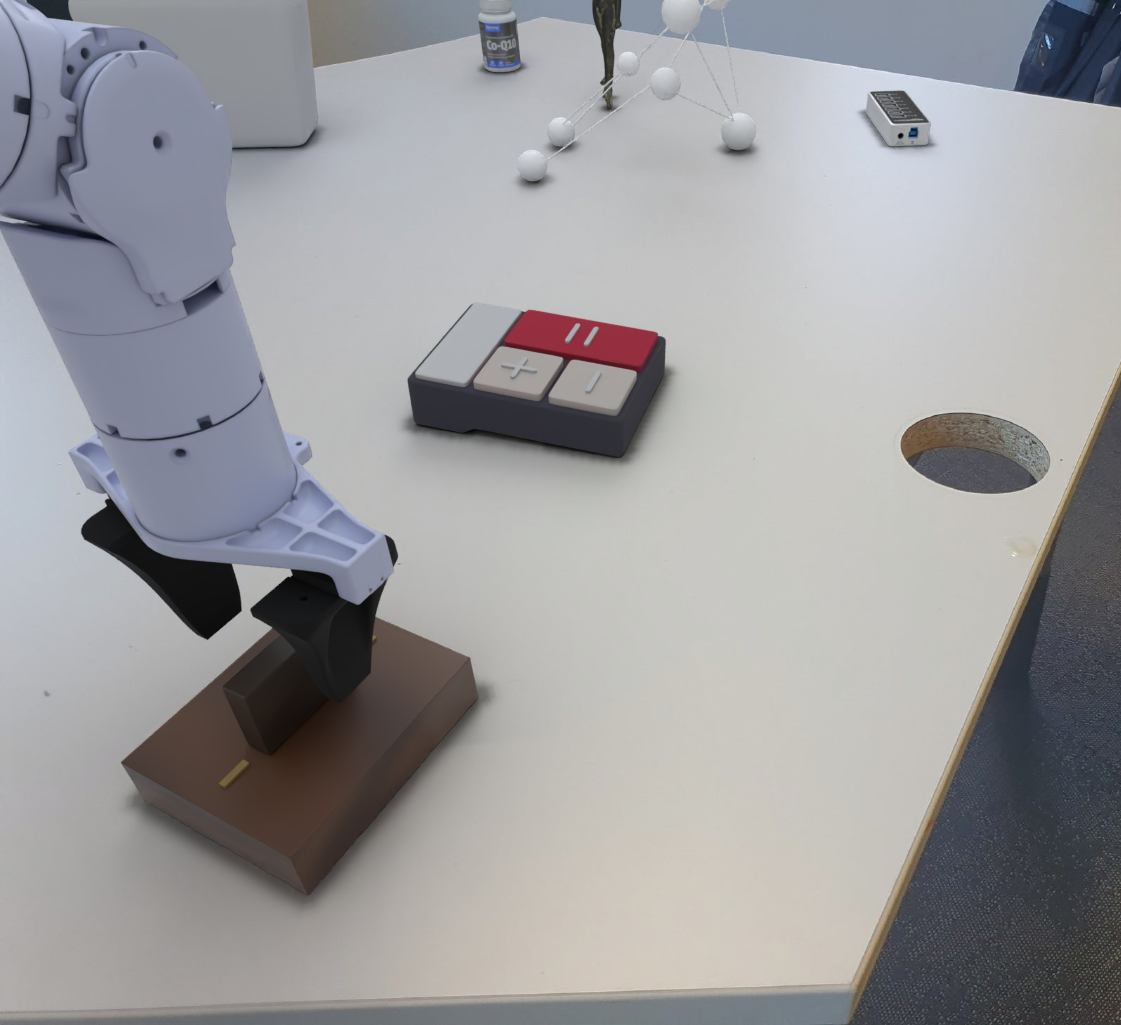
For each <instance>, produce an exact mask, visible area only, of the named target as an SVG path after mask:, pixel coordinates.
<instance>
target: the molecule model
mask: <svg viewBox="0 0 1121 1025" xmlns="http://www.w3.org/2000/svg"><path fill="white" fill-rule="evenodd" d="M702 2H703V4H702V5H701V3H700V1H699V0H663V1H662V5H661V10H660V11H661V13H660V14H661V19H662V22H663V24H664V25H665V27H666V28H664V30H662V32H660V34H659V35H658V36H657V37H656V38H655V39H653V41H651V43H649V44H648V45H647V46H646V47H644V49H643V50H641V51H640V52H639V53H638V54H637V55H636V54H635V53H634V52H631V51H624V52H622V53H620V55H619V56H618V57H617V60H616V68H617V70H618V72H617V73H616V74H615V75H613V76H614V77H613V78H612V79H611V80H610V81H609V82H608V83H606V84H605V85H602V87H601V88H600V89H599V90H598V91H596V92H595V93H594V94H593V95H592V96H591V97H590V98H588V100H586V101H585V102H584V103H583V104H582V105H581V106H579V108H578V109H577V110H575V111H574V112H573V113H572V114H571V115H570V116H569V117H568V118H566V117H561V116H559V117H555V118H553V119H552V120H551V121H550V122H549V124H548V125H547V128H546V129H547V130H546V135H547V138H548V140H549V141H550V143H551V144H552V145H554V146H556V147H559V148H560V149H559V150H558V151H556V152H555V153H553V154H552V155H551V156H549V157H548V158H547V159H546V157H545V156H544V155H543V153H541V152H540V151H538V150H535V149H528V150H525V151H524V152H522V153H521V154H520V155H519V157H518V159H517V164H516V167H517V171H518V173H519V175H520V176H521V177H522V178H523V179H524V180H526V181H529V182H538V181H540V180H542V179H543V178H544V177H545V175H547V174H546V173H547V171H548V162H549V160H551V159H552V158H553V157H555V156H556V155H557V154H559V153H560V152H562V151H563V150H564V149H566V148H567V147H569V146H570V145H571V144H573V143H574V142H576V141H577V140H579V139H580V138H581V137H583V136H584V135H586V133H588V132H589V131H591V130H592V129H594V128H595V127H596V126H598V125H599V124H600V123H602V122H604V121H605V120H606V119H607V118H609V117H610V116H612V115H613V114H614V113H616V112H617V111H618V110H620V109H621V108H623V107H624V106H625V105H627V104H629V102H631V101H632V100H634V99H635V98H636V97H638V96H639V95H640V94H642V93H643V92H645V91H646V90H648V89H649V88H650V90H651V93H652V94H653V95H654V97H656V99H658V100H661V101H670V100H672V99H674V98H675V97H676V96H679V97H681V98H683V99H686V100H688V101H690V102H691V103H694V104H697V105H699V106H701V107H703V108H705V109H707V110H710V111H712V112H714V113H716V114H718V115H720V116H722V117H723V118H724V117H725V119H724V121H723V122H722V125H721V128H720V135H721V139H722V142H723V143H724V144H725V145H726V147H728V149H730V150H733V151H743V150H745V149H748V148H749V147H750V146H751V145H752V144H753V142H755V139H756V136H757V127H756V124H755V121H754V120H753V118H752V117H751V116H749V114H746V113H743V112H741V108H740V102H739V98H738V97H739V96H738V91H737V85H736V80H735V73H734V67H733V61H732V56H731V51H730V45H729V39H728V34H727V29H726V22H725V18H724V16H725V15H724V12H723V9H725V8H726V7H727V6H728V5H729V4H730V3H731V0H702ZM704 7H707V8H708V9H710V10H712V11H720V13H721V18H722V24H723V31H724V36H725V41H726V47H727V53H728V58H729V59H728V60H729V64H730V70H731V75H732V80H733V86H734V92H735V98H736V103H737V109H738V112H734V113H732V111H731V109H730V107H729V105H728V103H727V101H726V99H725V96H724V94H723V92H722V91H721V89H720V87H719V85H718V83H717V80H716V78H715V77H714V74H713V72H712V70H711V68H710V65H709V64H708V62H707V60H706V58H705V55H704V53H703V52H702V50H701V48H700V45H699V44H698V41H697V39H696V38H695V36H694V33H693V31H694V30H695V29H696V28H697V26H698V25H699V24H700V22H701V21H700V20H701V18H702V12H703V10H704ZM668 31H670V32H671V33H673V34H677V35H685V37H684V39H683V41H682V42H681V44H680V46H679V48H678V50H677V51H676V54H675V55H674V56H673V58H672V61H671V62H670V64H669V66H661V67H659V68H657V69H656V70H654V72H653V73H652V75H651V77H650V81H649V84H648V85H647V86H646V87H645V88H643V89H642V90H640V91H639V92H637V93H636V94H635V95H634V96H632V97H631V98H629V99H628V100H627V101H625V102H624V103H623V104H621V105H620V106H618V107H617V108H616V109H614V110H613V111H611V112H610V113H609V114H607V115H606V116H605V117H603V118H602V119H600V120H599V121H597V122H596V123H595V124H593V125H591V127H589V128H588V129H587V130H585V131H584V132H583V133H581V134H579V135H578V136H577V137H575V136H576V130H575V126H576V125H577V124H578V122H579V121H580V120H582V118H583V117H584V116H585V115H587V113H588V112H589V111H590V110H592V108H593V107H594V106H595V105H596V104H597V103H598V102H599V101H600V100H601V99H602V98H603V97H602V96H603V95H604V94H605V93H606V92H607V91H608V90H609V89H610V88H611V87H612V88H613V86H614V85H615V84H617V82H618V81H619V80H620V79H621V78H622V77H623V76H624V77H626V78H627V77H633V76H634V75H636V74H637V73H638V72H639V69H640V64H641V63H640V58H641V57H642V56H643V55H644V54H645V53H646V52H647V51H648V50H649V49H650V48H651V47H652V46H653V45H654V44H655V43H656V42H657V40H659V39H660V38H661V37H662V36H663V35H664V34H665V33H666V32H668ZM689 35H691V37H692V39H693V42H694V43H695V45H696V47H697V50H698V51H699V53H700V56H701V57H702V59H703V61H704V64H705V65H706V67H707V69H708V72H709V74H710V76H711V78H712V80H713V82H714V83H715V86H716V89H717V90H718V92H719V94H720V96H721V98H722V101H723V103H724V105H725V106H726V109H727V111H728V112H729V114H730V115H726V114H724V113H721V112H719V111H717V110H715V109H713V108H710V107H708V106H706V105H704V104H702V103H700V102H698V101H696V100H693V99H691V98H690V97H687V96H685V95H682V94H681V93H679V92H680V91H681V85H682V82H681V77H680V76H679V74H678V72H677V71H676V70H675V69H673V68H671V67H672V66H673V64H674V62H675V61H676V59H677V57H678V55H679V53H680V51H681V49H682V47H683V46H684V43H685V42H686V40H687V39H688V36H689ZM617 77H618V78H617ZM614 79H615V80H614ZM612 80H613V84H612V85H611V86H610V87H609V88H608V89H607V90H606V91H605V92H604V93H603V92H602V90H604V87H605V86H607V85H608V84H609V83H610V82H611V81H612ZM600 92H602V94H601V95H600V96H599V97H598V98H597V99H596V100H595V101H594V102H593V103H592V104H591V105H590V107H588V109H586V110H585V111H584V112H583V114H582V115H581V116H580V117H579V118H578V119H577V120H576V121H575V122H574V123H572V121H571V120H570V119H571V118H573V117H574V116H575V115H576V114H577V113H578V112H579V111H580V110H581V109H583V108H584V106H586V105H587V104H588V103H589V102H590V101H591V100H592V99H593V98H595V97H596V96H597V95H598V94H599V93H600Z"/></svg>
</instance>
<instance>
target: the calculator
mask: <svg viewBox="0 0 1121 1025" xmlns="http://www.w3.org/2000/svg"><path fill="white" fill-rule="evenodd" d="M666 346H667V339H666V338H665V336H661V335H659V333H658V332H657V331H654V330H647V329H643V328H636V327H632V326H626V325H619V324H615V323H608V322H604V321H598V320H593V319H586V318H580V317H575V316H569V315H564V314H559V313H558V314H557V313H553V312H547V311H542V310H536V309H527V310H526V311H523V310H521V309H517V308H513V307H506V306H501V305H497V304H496V305H495V304H490V303H485V302H474V303H472V304H470V305H469V306H468V307H467V309H465V311H464V312H463V313H462V314H461V315H460V317H458V319H457V320H456V321H455V322H454V323H453V324H452V326H451V327H450V328H449V329H448V330H447V331H446V333H445V334H444V335H443V336H442V338H441V339H440V340H439V341H438V342H437V343H436V344H435V346H434V347H433V348H432V349H431V350H430V351H429V353H427V355H426V356H425V357H424V358H423V360H422V361H421V362H420V363H419V364H418V365H417V366H416V367H415V368H414V370H413V371H412V372H411V373H410V375H409V376H408V377H407V380H406V381H407V389H408V394H409V400H410V405H411V406H410V407H411V414H412V419H413V422H414V423H415V424H417V425H421V426H425V427H431V428H435V429H441V430H446V431H452V432H456V433H460V434H463V433H467V432H469V431H472V430H480V431H486V432H491V433H496V434H501V435H505V436H511V437H515V438H520V439H526V440H531V441H535V442H540V443H545V444H549V445H555V446H559V447H560V446H561V447H565V448H569V449H575V450H581V451H586V452H590V453H595V454H600V455H606V456H610V457H614V458H615V457H616V458H617V457H618V458H619V457H622V456H624V453H625V452H626V451H627V448H628V446H629V444H630V442H631V440H632V438H633V436H634V434H635V432H636V430H637V429H638V426H639V425H640V422H641V421H642V418H643V416H644V415H645V412H646V410H647V408H648V406H649V404H650V403H651V401H652V399H653V397H654V394H655V393H656V391H657V388H658V386H659V385H660V382H661V381H662V379H663V377H664V375H665V373H666V372H665V370H666V351H667V350H666V349H667V347H666Z"/></svg>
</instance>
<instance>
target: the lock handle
mask: <svg viewBox="0 0 1121 1025" xmlns="http://www.w3.org/2000/svg"><path fill="white" fill-rule="evenodd" d="M221 688H222V690H223V692H224V694H225V696H226V698H227V700H228V703H229V705H230V707H231V709H232V711H233V713H234V715H235V717H236V720H237V722H238V724H239V726H240V728H241V730H242V732H243V734H244V736H245V739H246V741H247V743H248V744H249V745H251V746H253V747H255V748H257V749H259V750H261V751H263V752H265V753H266V754H268V755H271V754H272V753H273V752H274V751H275V750H276V749H277V748H278V747H279V746H280V745H281V744H282V743H283V742H284V741H285V740H286V739H287V738H288V737H289V736H290V735H291V734H292V733H293V732H294V731H295V730H296V729H297V728H298V727H299V726H300V725H301V724H302V723H303V722H304V721H305V720H306V719H308V718H309V717H310V716H311V715H312V714H313V713H314V712H315V711H316V710H317V709H318V708H319V707H320V706H321V705H322V704H323V703H324V702H325V701H326V700H327V699H328V698H327V697H326V696H325V695H324V694H323V693H322V692H321V691H320V690H319V688H318V687H317V686H316V684H315V683H314V681H313V679H312V678H311V676H310V674H309V672H308V670H307V668H306V667H305V665H304V663H303V661H302V659H301V658H300V656H299V655H298V653H297V652H296V651H295V650H294V648H293V647H292V646H291V645H290V644H289V643H288V642H287V641H286V639H285V638H284V637H283V636H282V635H280V634H279V635H278V636H277V637H276V638H275V639H274V640H272V641H271V642H270V643H269V644H268V645H267V646H266V647H265V648H264V649H262V650H261V651H260V652H259V653H258V654H257V655H256V656H255V657H253V658H252V659H251V660H250V661H249V662H248V663H247V664H246V665H245V666H243V667H242V668H241V669H240V670H239V671H238V672H237V673H236V674H234V675H233V676H232V677H231V678H230V679H229V680H228V681H227V682H226V683H224V684H223V685H222V687H221Z"/></svg>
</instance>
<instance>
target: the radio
mask: <svg viewBox="0 0 1121 1025" xmlns="http://www.w3.org/2000/svg"><path fill="white" fill-rule="evenodd" d="M67 7H68V11H69V16H70V17H71V19H72V21H76V22H84V23H92V24H101V25H109V26H117V27H125V28H130V29H134V30H138V31H142V32H144V33H146V34H148V35H150V36H152V37H154V38H156V39H157V40H159V41H160V42H162V43H163V44H164V45H166V46H167V47H169V48H170V49H171V50H172V51H173V52H174V53H175V54H176V55H177V56H178V58H177V61H179V62H180V63H181V64H183V65H184V66H185V67H186V68H187V69H188V70H190V71H191V72H192V74H193V75H194V76H195V77H196V78H197V79H198V81H199V82H200V83H201V85H202V86H203V88H204V89H205V91H206V93H207V95H208V97H209V99H210V101H211V102H214V104H215V107H216V106H218V105H224V106H225V107H226V110H227V114H228V118H229V123H230V129H231V137H232V149H233V148H234V149H237V148H240V149H241V148H242V149H243V148H280V147H283V148H284V147H286V148H287V147H299V146H302V145H305V143H306V142H307V141H309V139H310V137H311V135H312V134H313V132H314V130H315V129H316V127H317V126H318V124H319V112H318V102H317V89H316V80H315V78H316V77H315V70H314V69H315V68H314V56H313V49H312V47H313V46H312V36H311V24H310V13H309V3H308V0H68V6H67Z"/></svg>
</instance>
